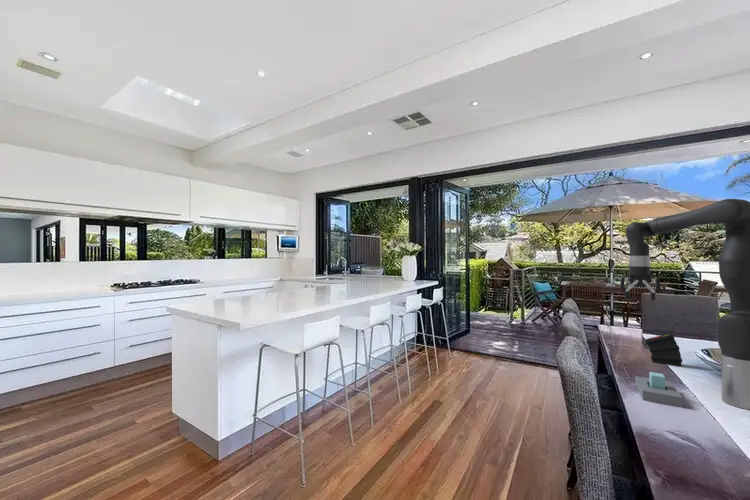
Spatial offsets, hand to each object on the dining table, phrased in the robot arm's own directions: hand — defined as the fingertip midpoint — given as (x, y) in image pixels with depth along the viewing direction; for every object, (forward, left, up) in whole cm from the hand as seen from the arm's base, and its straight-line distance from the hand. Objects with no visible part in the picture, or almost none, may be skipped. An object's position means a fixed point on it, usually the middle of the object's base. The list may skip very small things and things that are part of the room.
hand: (639, 300), depth 147 cm
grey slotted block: (-13, +24, -33) cm, 43 cm away
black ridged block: (-2, -22, -33) cm, 40 cm away
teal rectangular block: (-13, +24, -33) cm, 43 cm away
